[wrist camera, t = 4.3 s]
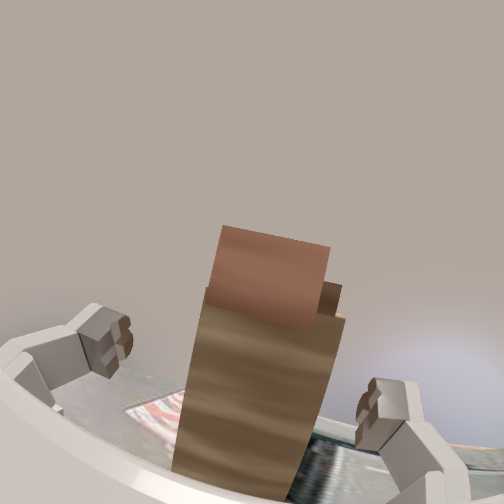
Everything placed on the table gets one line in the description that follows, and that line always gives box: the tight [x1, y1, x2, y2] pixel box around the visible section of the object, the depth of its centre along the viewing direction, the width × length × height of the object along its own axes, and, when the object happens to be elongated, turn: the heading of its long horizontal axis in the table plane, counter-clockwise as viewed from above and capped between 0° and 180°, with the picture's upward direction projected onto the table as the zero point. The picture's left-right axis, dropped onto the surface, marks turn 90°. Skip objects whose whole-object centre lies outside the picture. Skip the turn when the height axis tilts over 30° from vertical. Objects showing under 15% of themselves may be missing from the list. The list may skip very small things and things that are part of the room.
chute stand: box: [171, 281, 345, 502], centre depth 25 cm, size 15×9×28 cm, turn 171°
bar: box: [205, 225, 330, 330], centre depth 21 cm, size 20×4×3 cm, turn 171°
